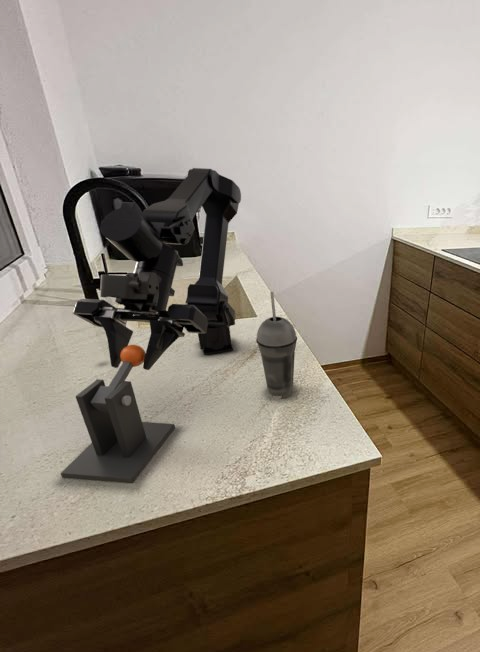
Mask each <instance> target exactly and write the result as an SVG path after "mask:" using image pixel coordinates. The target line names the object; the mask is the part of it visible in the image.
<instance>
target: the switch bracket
mask: <svg viewBox="0 0 480 652" xmlns="http://www.w3.org/2000/svg"><path fill="white" fill-rule="evenodd" d="M100 386H106V383H105V380H104V379H99V378H98V379H95V380H94V381H93V382H91V383H90V384H89V385H88V386H87V387H85V388H84V389H82V390H81V391H80V392H79V393H77V394H76V395H75V400H76V403H77V405H78V408H79V411H80V414H81V416H82V419H83V422H84V424H85V428H86V430H87V433H88V435H89V438H90V441H91V443H90V444H88V445H87V446H86V447H85V448H84V450H83V451H81V453H79V454H78V455H77V456H76V457H75V458H74V459H73V460H72V461H71V462H70V463H69V464H68V465H67V466H66V467H65V468H64V469H63V470H62V471H61V472H60V476H61V478H62V479H71V480H73V479H74V480H85V481H86V480H87V481H88V480H89V481H99V482H112V483H114V482H115V483H127V484H134V483H135V481H136V480H137V479H138V477H139V476H140V474H141V473H142V472H143V471H144V469H145V468H146V467H147V465H148V464H149V463H150V462H151V460H152V459H153V458H154V456H155V455H156V454H157V452H158V451H159V450H160V448H161V447H162V446H163V445H164V444H165V442H166V441H167V440H168V438H169V437H170V435H171V434H172V433H173V432H174V430H175V429H176V426H175V424H174V423H166V422H152V421H143V420H142V417H141V416H142V415H141V413H140V410H139V405H138V402H137V399H136V395H135V392H134V388H133V387H134V386H133V384H132V381H131V380H130V381H129V380H125V381H124V382H123V383H121V384H120V385H119V386H118V387H117V388H116V389H114V390H113V391H112V392H111V393H110V394H109V395H108V396H106V397H105V398H104V399H105V402H106V405H107V408H108V411H109V412H99V411H98V410H97V409H96V408H95V407H94V406H93V405H92V404H91V403H90V402H91V400H92V399H93V397H94V396H95V394H96V392H97V391H98V389H99V388H100Z"/></svg>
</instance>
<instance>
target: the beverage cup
mask: <svg viewBox="0 0 480 652" xmlns="http://www.w3.org/2000/svg"><path fill="white" fill-rule="evenodd" d="M269 293H270V303H271V313H272V316H271V317H268V318H266V319H265V320H264V321H262V322H261V324H260V325H259V326H258V329H257V332H256V340H255V341H256V344H257V346H258V347H257V348H258V350H259V353H260V356H261V362H262V366H263V372H264V378H265V382H266V388H267V390H268V391H267V392H268V393H269V394H270V395H272V396H275V397H280V400H283V399H288V398H289V397H291V396H292V395H293V388H294V374H295V356H296V354H295V353H296V349H297V341H298V336H297V333H296V329H295V328H294V326H293V323H291V322H290V321H289V320H288V319H286V318H284V317H282V316H277V315H276V305H275V295H274V291H270V292H269Z"/></svg>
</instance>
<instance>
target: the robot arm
mask: <svg viewBox="0 0 480 652" xmlns="http://www.w3.org/2000/svg"><path fill="white" fill-rule="evenodd" d="M241 201H242V192H241V188H240V187H239V186H238V185H237V184H236V182H234V180H232V179H231V178H228V177H226V176H223V175H222V174H219V172H218V171H216V170H214V169H212V168H202V167H201V168H200V167H192V168H190V169H188V171H187V175H186V177H185V178H184V179H183V180H182V182H181V183H180V184H179V185H178V187H176V189H175V190H174V191H173V193H172V194H171V195H170V196H169V197H168V198H166V199H165V200H162V201H158V202H154V203H152V204H151V205H149V206H147V207H146V208H144V209H143V211H142V209H141V208H140V207H139V205H138V203H136V202H128V201H123V202H121V204H120V207H119V208H115V209H114V210H112V211H111V212H109V213H108V214H107V215H106V216H105V217H104V218H102V219H101V222H100V232H101V234H102V235H103V237H104V238H105V239H106V240H107V241H109V242H110V243H111V244H112V245H113V246H114V247H115V248H116V249H117V250H119V251H120V252H121V253H122V254H123V256H125V257H126V258H127V259H129V260H131V261H132V262H136V263H135V267H134V270H133V272H127V274H125V275H119V274H118V275H117V274H101V275H100V298H113V299H115V300H114V301H115V302H116V303H117V304H118V305H120V306H124V307H121V308H120V307H116V306H114V305H112V304H111V303H110V302H108V301H106V299H96V298H81V299H79V300H77V301H76V303H75V306H74V309H73V312H72V315H74V316H76V317H78V318H80V319H82V320H83V321H85V322H87V323H89V324H91V325H93V326H95V327H98V328H103V330H104V332H105V336H106V339H107V346H108V352H109V361H110V366H111V367H112V368H113V369H119V367H120V365H121V364H122V361H121V358H120V354H121V351H122V350H123V348H125V347H126V346H129V345H130V342H131V338H132V336H133V334H134V330H132V329H130V328H129V327H127V323H128V322H138V323H139V322H141V323H149V329H150V335H149V339H148V342H147V347H146V350H145V353H146V354H145V358H144V362H143V363H142V364H143V366H142V368H143V369H144V370H145V371H150V369H152V367H153V366H154V365H155V363H156V362H157V361H158V360H159V359H160V358H161V356H162V355H164V353H165V352H166V351H167V350H168V349H169V348H170V347H171V345H173V344H174V343H175V342H176V341H178V339H179V338H184V337H185V335H186V334H185V332H184V329H185V330H186V332H188V333H189V334H197V338H198V344H199V349H200V350H202V352H203V355H205V356H207V355H213V354H220V353H227V352H232V351H234V346H233V343H232V336H231V329H230V327H231V326H235V325H236V311H235V309H234V308H233V307H232V306H231V304H230V303H229V296H228V294H227V291H226V290H225V288H224V285H223V277H224V268H225V260H226V251H227V250H226V249H227V241H228V231H229V223H231V221H233V219H234V217H236V215H237V214H238V209H239V204H240V203H241ZM201 208H202V210H203V212H204V215H205V221H204V230H203V239H202V246H201V247H202V248H201V256H200V263H199V273H198V279H197V280H196V282H195V283H193V284H192V283H189V285H188V287H187V293H186V294H187V296H186V299H185V304H182V303H172V304H170V305H169V306H168V303H169V298H170V297H175V293H176V290H175V289H174V288H173V287H172V286H173V282H174V279H175V278H174V277H175V275H176V270H177V267H183V266H184V262H183V259H182V258H181V257H180V254H179V251H178V250H176V249H174V247H173V246H172V245H182V246H185V245H187V244H188V243H189V242H190V240H191V239H192V237H193V235H194V231H195V230H196V229H195V224H194V221H193V220H194V218H195V216H196V215H197V213H198V212H199V210H200V209H201Z"/></svg>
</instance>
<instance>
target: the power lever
mask: <svg viewBox="0 0 480 652" xmlns="http://www.w3.org/2000/svg"><path fill="white" fill-rule="evenodd" d="M145 354H146V350H145V349H144V348H143V347H142V346H140V345H138V344H128V346H126V347H125V348H123V350H122V351H121V354H120V358H121V364H120V365H121V366H119V367H118V370H117V372H116V373H115V375H114V376H113V378H112V380H111V381H110V383H109V385H105V386H100V388H99V389H98V391H97V392H96V394H95V396H94V397H93V399H92V400H91V402H90V403H91V404H92V405H93V406H94V407H95V408H96V409H97V410H98V411H99V412H109V411H108V408H107V405H106V402H105V399H104V398H105V397H106V396H108V395H109V394H110V393H111V392H112V391H113V390H114V389H116V388H117V387H118V386H119V385H120V384H121V383H123V382H124V381H126V380H127V378H128V377H129V375H130V372H131V371H132V370H133V368H135V367H140V366H141V365H142V364H144V358H145Z"/></svg>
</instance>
